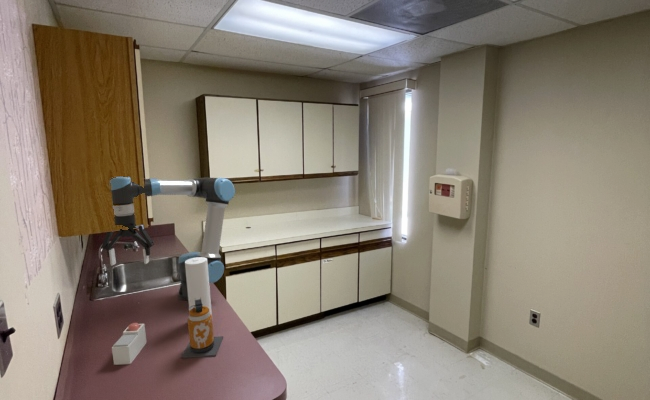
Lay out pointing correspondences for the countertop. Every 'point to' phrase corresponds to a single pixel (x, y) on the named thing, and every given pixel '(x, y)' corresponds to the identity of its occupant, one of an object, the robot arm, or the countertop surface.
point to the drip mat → (208, 353)
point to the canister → (200, 328)
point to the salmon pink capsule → (133, 327)
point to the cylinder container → (198, 281)
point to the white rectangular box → (129, 345)
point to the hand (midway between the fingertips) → (130, 263)
